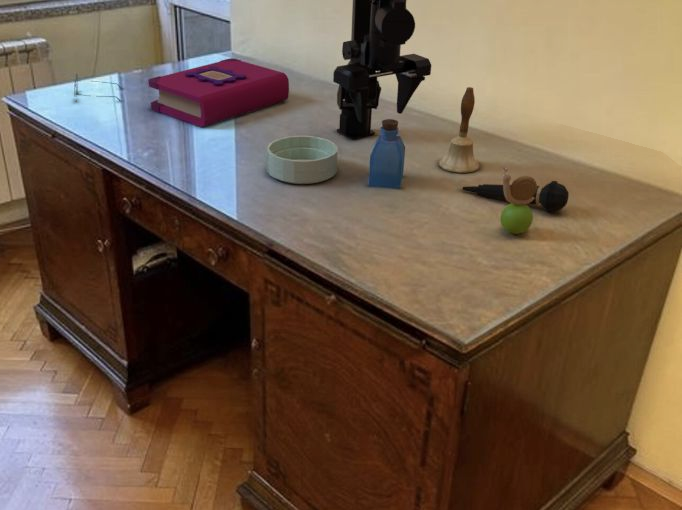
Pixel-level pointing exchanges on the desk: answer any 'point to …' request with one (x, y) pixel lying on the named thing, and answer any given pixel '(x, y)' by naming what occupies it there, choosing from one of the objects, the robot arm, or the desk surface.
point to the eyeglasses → (88, 95)
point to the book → (218, 91)
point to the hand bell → (462, 141)
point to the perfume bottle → (387, 157)
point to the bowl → (302, 159)
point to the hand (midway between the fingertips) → (380, 117)
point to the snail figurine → (518, 203)
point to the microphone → (548, 196)
